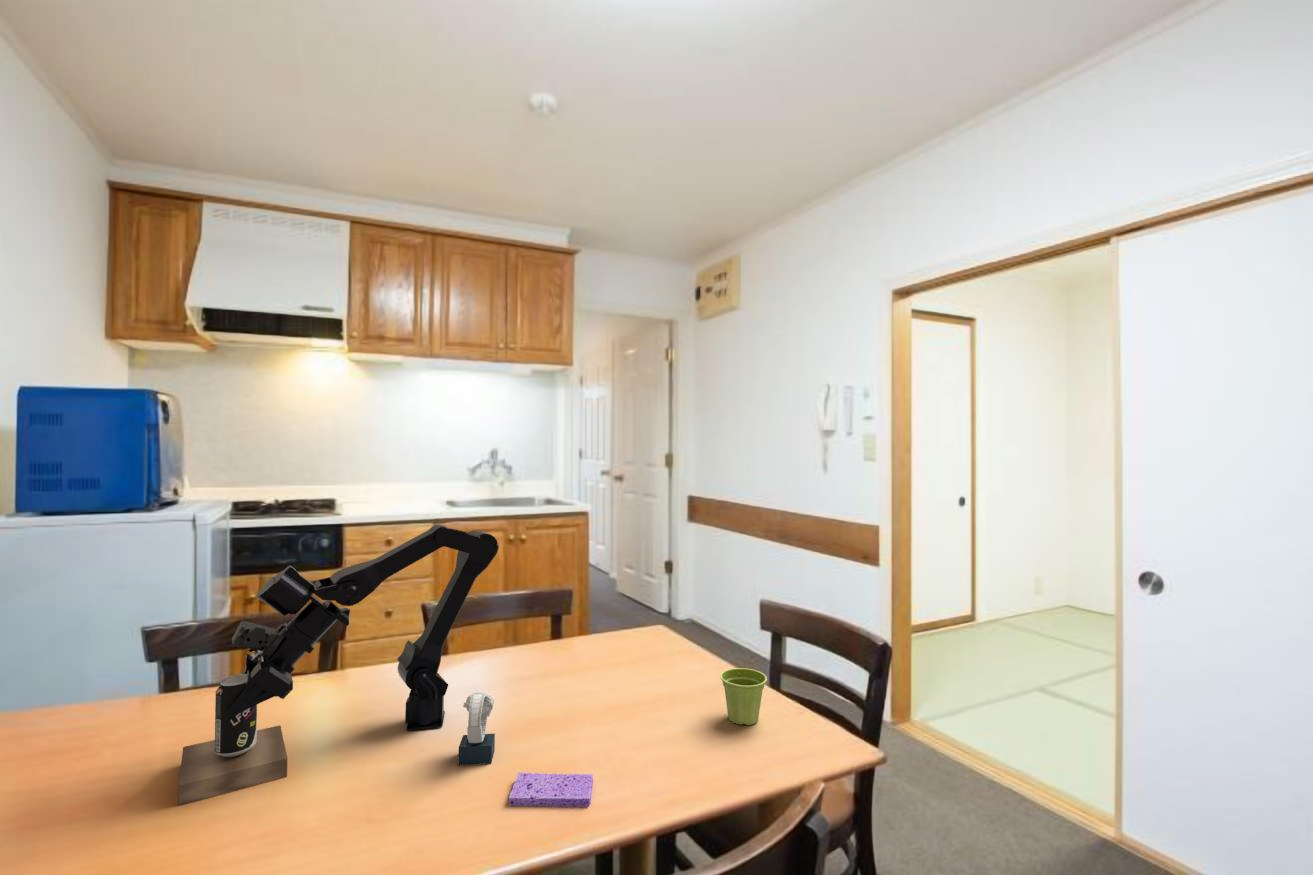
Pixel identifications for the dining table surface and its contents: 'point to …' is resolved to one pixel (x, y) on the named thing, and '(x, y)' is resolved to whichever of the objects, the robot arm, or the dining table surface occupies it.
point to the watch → (477, 731)
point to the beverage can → (233, 720)
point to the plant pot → (743, 694)
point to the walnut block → (231, 767)
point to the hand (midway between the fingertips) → (226, 709)
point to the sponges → (551, 790)
